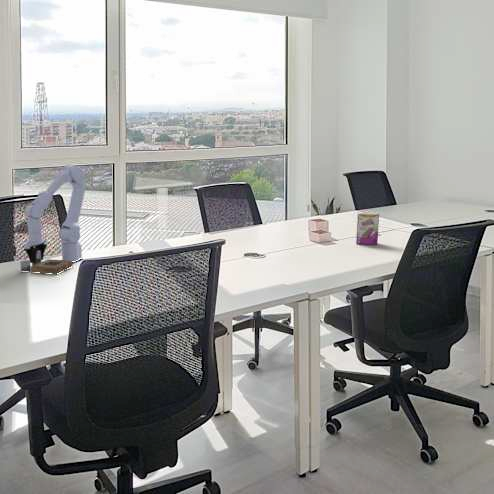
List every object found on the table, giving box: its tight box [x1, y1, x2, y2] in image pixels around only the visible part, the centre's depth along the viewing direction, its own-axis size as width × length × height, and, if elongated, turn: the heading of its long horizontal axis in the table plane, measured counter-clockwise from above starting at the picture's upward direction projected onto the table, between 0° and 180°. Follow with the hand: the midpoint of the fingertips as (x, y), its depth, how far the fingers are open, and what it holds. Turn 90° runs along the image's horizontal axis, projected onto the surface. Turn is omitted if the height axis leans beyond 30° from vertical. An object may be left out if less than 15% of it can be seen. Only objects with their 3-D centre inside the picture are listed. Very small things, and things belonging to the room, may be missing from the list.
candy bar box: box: [355, 211, 380, 246], centre depth 359 cm, size 11×5×16 cm, turn 84°
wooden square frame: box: [30, 258, 74, 274], centre depth 299 cm, size 14×12×3 cm
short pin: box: [20, 259, 31, 272], centre depth 296 cm, size 4×4×4 cm
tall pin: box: [31, 249, 42, 266], centre depth 304 cm, size 4×4×8 cm
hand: (36, 261), depth 305 cm, fingers open, 5 cm apart
